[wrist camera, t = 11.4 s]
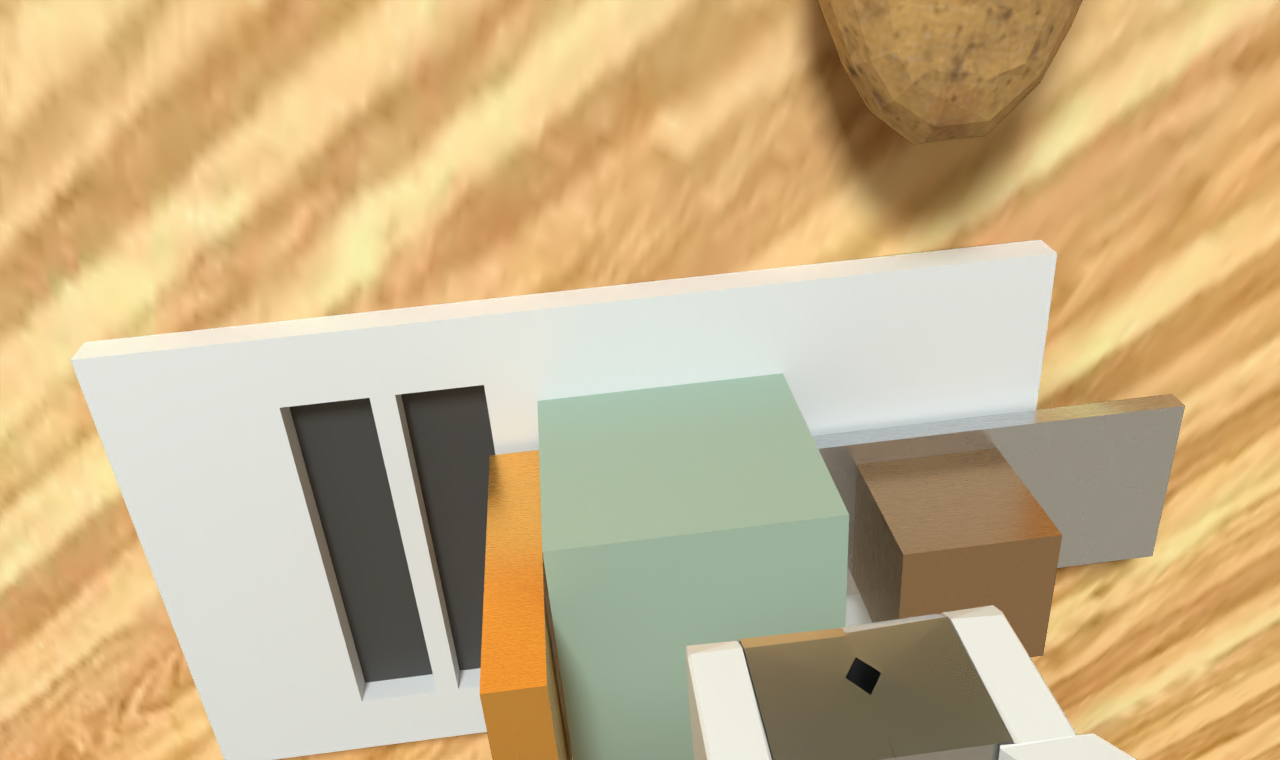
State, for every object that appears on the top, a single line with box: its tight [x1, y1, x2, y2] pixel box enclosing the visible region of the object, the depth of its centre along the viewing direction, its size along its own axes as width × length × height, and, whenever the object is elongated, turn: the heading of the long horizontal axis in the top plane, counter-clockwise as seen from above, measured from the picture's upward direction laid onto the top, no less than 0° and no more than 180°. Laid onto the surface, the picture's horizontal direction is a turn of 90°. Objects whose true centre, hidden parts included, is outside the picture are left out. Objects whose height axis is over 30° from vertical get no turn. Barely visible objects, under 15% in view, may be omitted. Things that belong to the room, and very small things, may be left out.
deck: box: [71, 240, 1057, 760], centre depth 46 cm, size 38×22×2 cm, turn 94°
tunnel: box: [537, 373, 849, 760], centre depth 41 cm, size 10×14×10 cm
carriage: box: [480, 394, 1185, 760], centre depth 40 cm, size 29×10×13 cm, turn 94°
